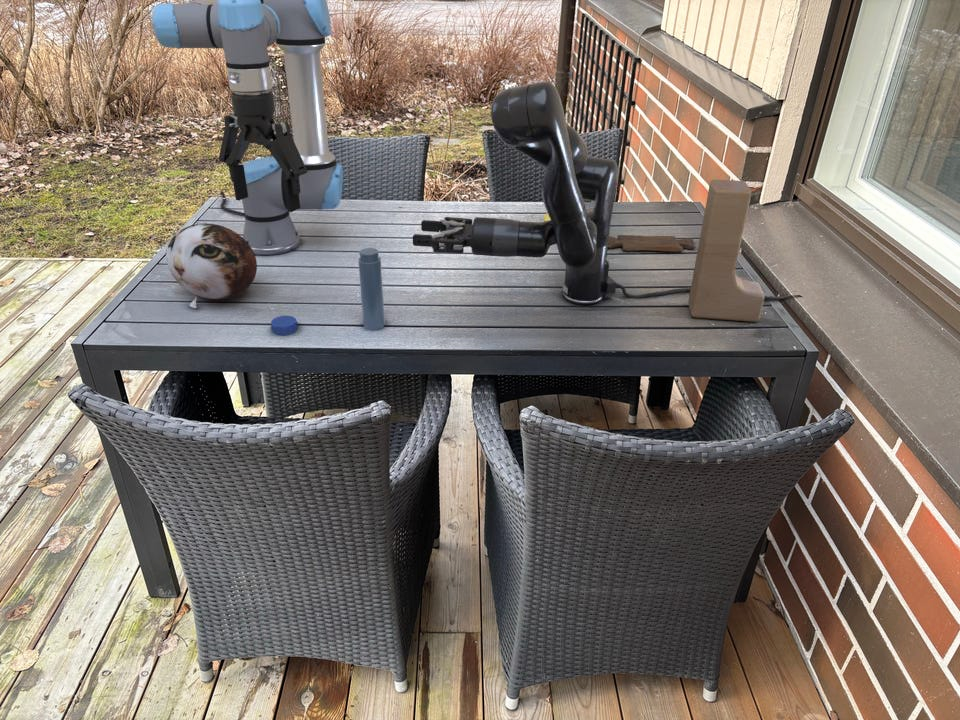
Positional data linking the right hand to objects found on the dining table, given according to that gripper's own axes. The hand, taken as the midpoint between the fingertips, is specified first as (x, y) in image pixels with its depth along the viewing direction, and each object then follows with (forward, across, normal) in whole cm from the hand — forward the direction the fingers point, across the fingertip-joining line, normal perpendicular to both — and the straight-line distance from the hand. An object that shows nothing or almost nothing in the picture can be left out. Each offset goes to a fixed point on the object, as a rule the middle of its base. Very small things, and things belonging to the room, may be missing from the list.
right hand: (417, 232), depth 145 cm
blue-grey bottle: (+10, -1, +22) cm, 25 cm away
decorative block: (-67, -18, +22) cm, 73 cm away
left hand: (+29, +4, -6) cm, 30 cm away
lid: (+29, +4, +21) cm, 36 cm away
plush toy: (+50, -9, +22) cm, 56 cm away
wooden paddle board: (-54, -58, +21) cm, 82 cm away
